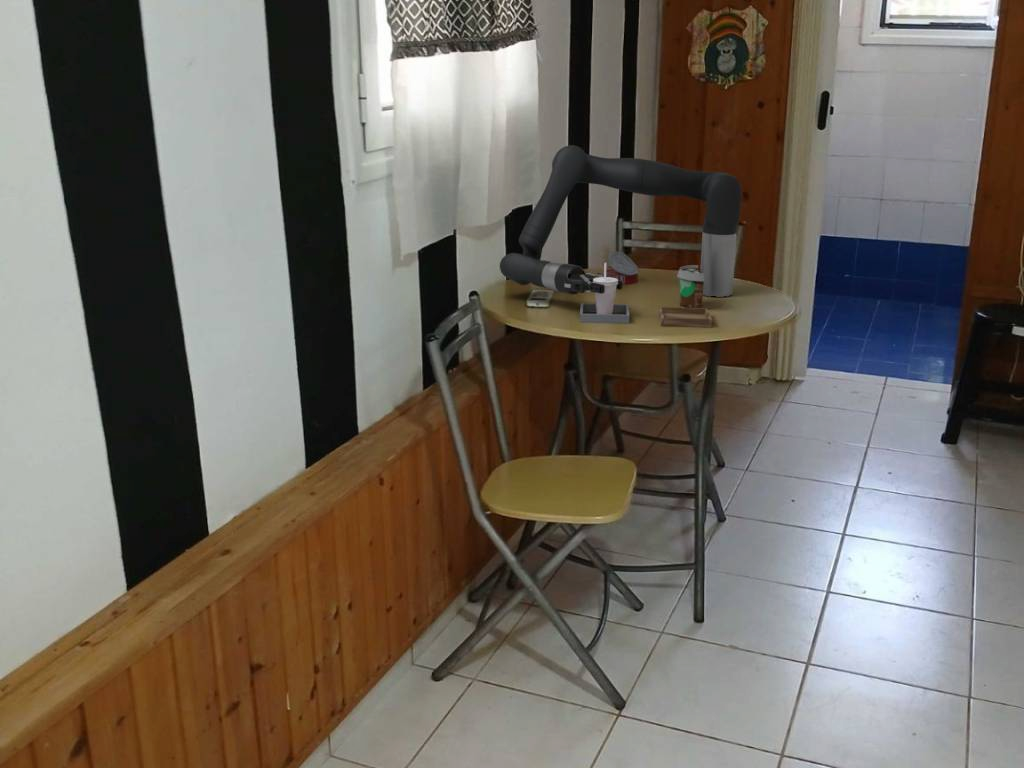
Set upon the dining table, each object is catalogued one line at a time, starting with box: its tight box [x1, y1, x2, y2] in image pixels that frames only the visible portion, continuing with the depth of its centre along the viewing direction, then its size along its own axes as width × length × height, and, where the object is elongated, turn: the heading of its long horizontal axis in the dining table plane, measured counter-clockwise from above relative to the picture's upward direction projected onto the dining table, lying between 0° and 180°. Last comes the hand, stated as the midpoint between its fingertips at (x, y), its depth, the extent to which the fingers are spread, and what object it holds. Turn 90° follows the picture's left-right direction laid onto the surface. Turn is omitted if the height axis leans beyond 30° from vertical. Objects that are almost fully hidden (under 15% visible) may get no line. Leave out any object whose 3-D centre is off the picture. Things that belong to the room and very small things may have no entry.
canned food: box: [606, 250, 639, 286], centre depth 307 cm, size 11×10×10 cm
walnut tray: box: [658, 306, 713, 328], centre depth 261 cm, size 12×12×2 cm
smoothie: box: [593, 262, 618, 314], centre depth 263 cm, size 6×6×14 cm
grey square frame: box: [579, 302, 630, 324], centre depth 264 cm, size 12×12×2 cm
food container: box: [676, 264, 704, 308], centre depth 276 cm, size 12×6×10 cm, turn 178°
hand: (612, 287), depth 261 cm, fingers closed on smoothie, 6 cm apart
